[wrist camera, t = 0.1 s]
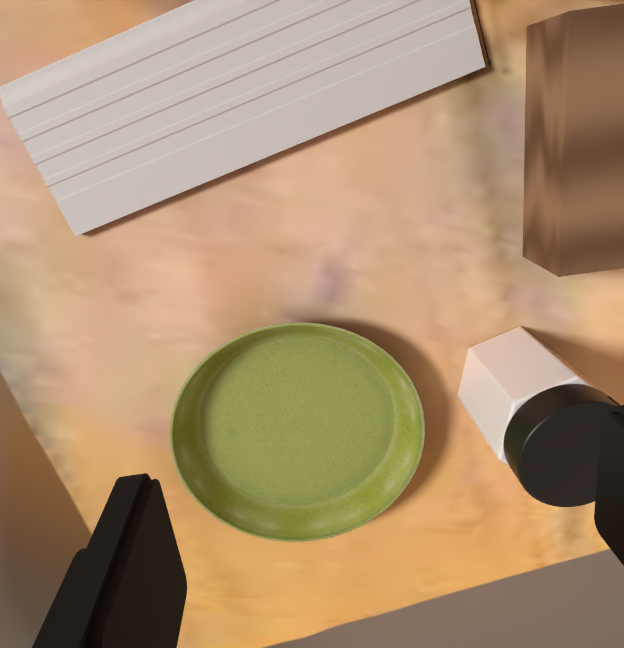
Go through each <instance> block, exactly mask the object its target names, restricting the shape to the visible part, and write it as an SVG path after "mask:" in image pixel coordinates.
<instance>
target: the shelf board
mask: <svg viewBox="0 0 624 648" xmlns="http://www.w3.org/2000/svg"><path fill="white" fill-rule="evenodd" d="M523 257H525V258H527V259H529V260H530V261H532V262H534V263H536V264H537V265H539V266H541V267H542V268H544V269H546V270H548V271H549V272H551V273H553V274H555V275H556V276H558V277H561V276H568V275H575V274H582V273H589V272H597V271H604V270H611V269H618V268H624V4H619V5H611V6H604V7H596V8H589V9H582V10H574V11H569V12H566V13H563V14H560V15H558V16H555V17H552V18H549V19H546V20H544V21H541V22H538V23H535V24H532V25H530V26H527V44H526V102H525V161H524V219H523Z"/></svg>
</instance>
